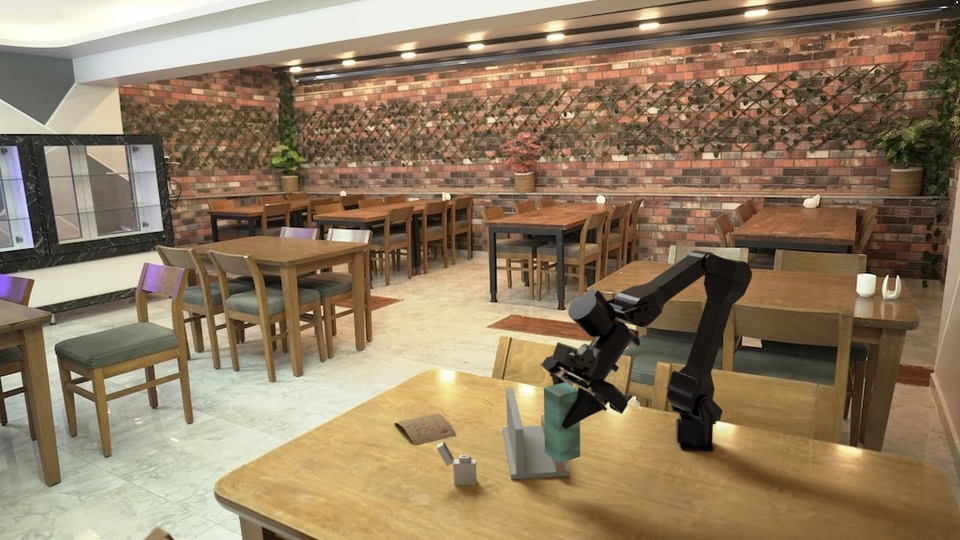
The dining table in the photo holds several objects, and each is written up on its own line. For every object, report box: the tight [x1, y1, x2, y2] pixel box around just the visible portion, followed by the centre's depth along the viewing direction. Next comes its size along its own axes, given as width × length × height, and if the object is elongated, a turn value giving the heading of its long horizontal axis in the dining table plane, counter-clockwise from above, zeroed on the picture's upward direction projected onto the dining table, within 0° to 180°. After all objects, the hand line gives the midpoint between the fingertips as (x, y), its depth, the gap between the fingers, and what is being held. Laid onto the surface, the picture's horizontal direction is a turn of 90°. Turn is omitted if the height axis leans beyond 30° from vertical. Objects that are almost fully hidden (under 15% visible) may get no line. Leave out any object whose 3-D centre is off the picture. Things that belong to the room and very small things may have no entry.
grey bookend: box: [502, 387, 570, 480], centre depth 124 cm, size 11×20×10 cm, turn 2°
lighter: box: [436, 440, 478, 486], centre depth 114 cm, size 7×2×8 cm, turn 85°
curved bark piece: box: [394, 412, 457, 446], centre depth 137 cm, size 14×10×3 cm
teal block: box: [543, 382, 581, 463], centre depth 108 cm, size 4×4×12 cm
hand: (555, 422), depth 107 cm, fingers closed on teal block, 4 cm apart
